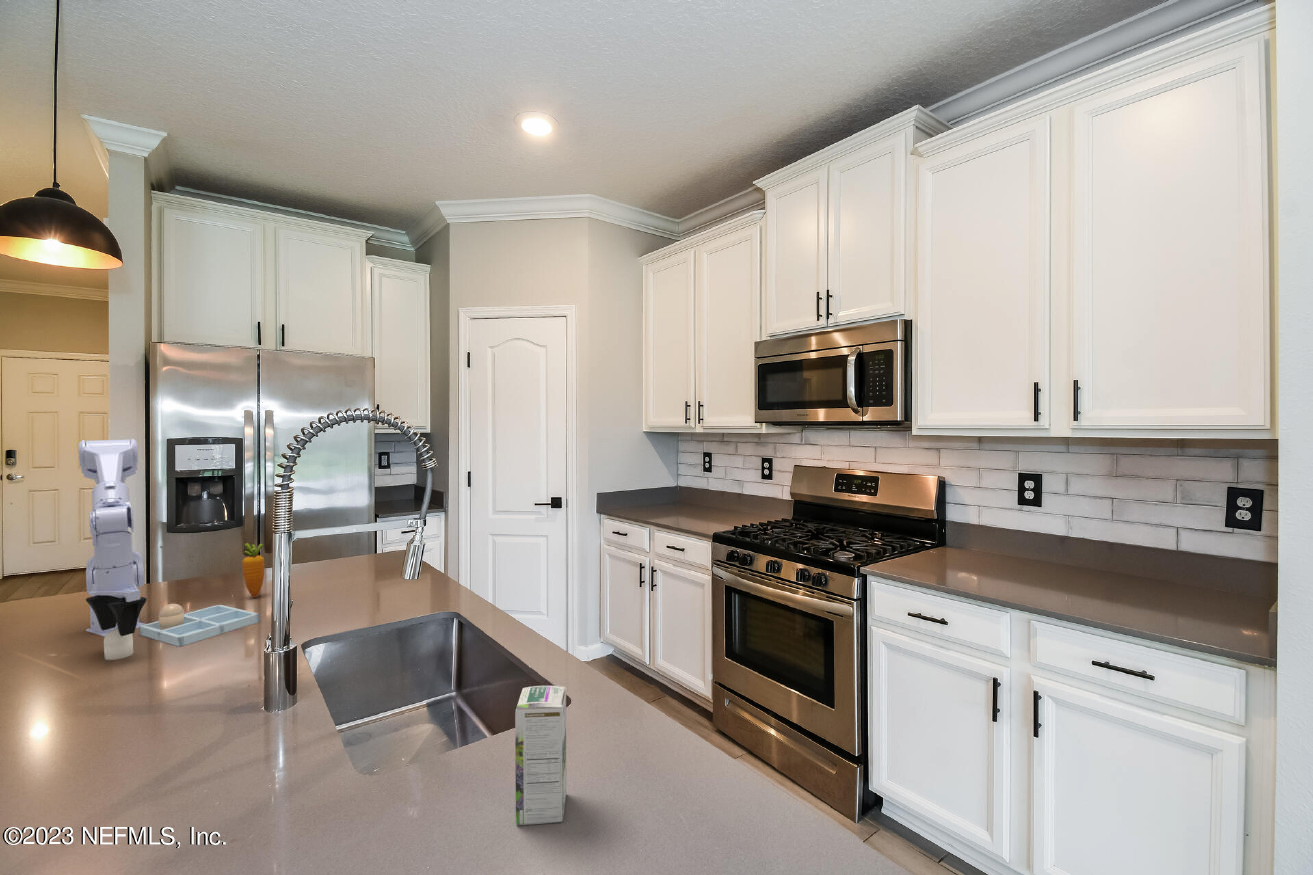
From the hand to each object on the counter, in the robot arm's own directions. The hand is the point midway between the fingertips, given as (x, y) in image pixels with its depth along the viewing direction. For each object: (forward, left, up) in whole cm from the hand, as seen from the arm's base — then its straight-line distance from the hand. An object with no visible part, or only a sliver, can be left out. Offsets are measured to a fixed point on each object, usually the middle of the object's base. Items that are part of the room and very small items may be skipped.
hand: (117, 631), depth 123 cm
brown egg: (-6, +12, -5) cm, 14 cm away
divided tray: (-2, +16, -6) cm, 17 cm away
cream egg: (0, 0, -6) cm, 6 cm away
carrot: (-16, +36, -6) cm, 40 cm away
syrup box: (+107, -1, -6) cm, 107 cm away
